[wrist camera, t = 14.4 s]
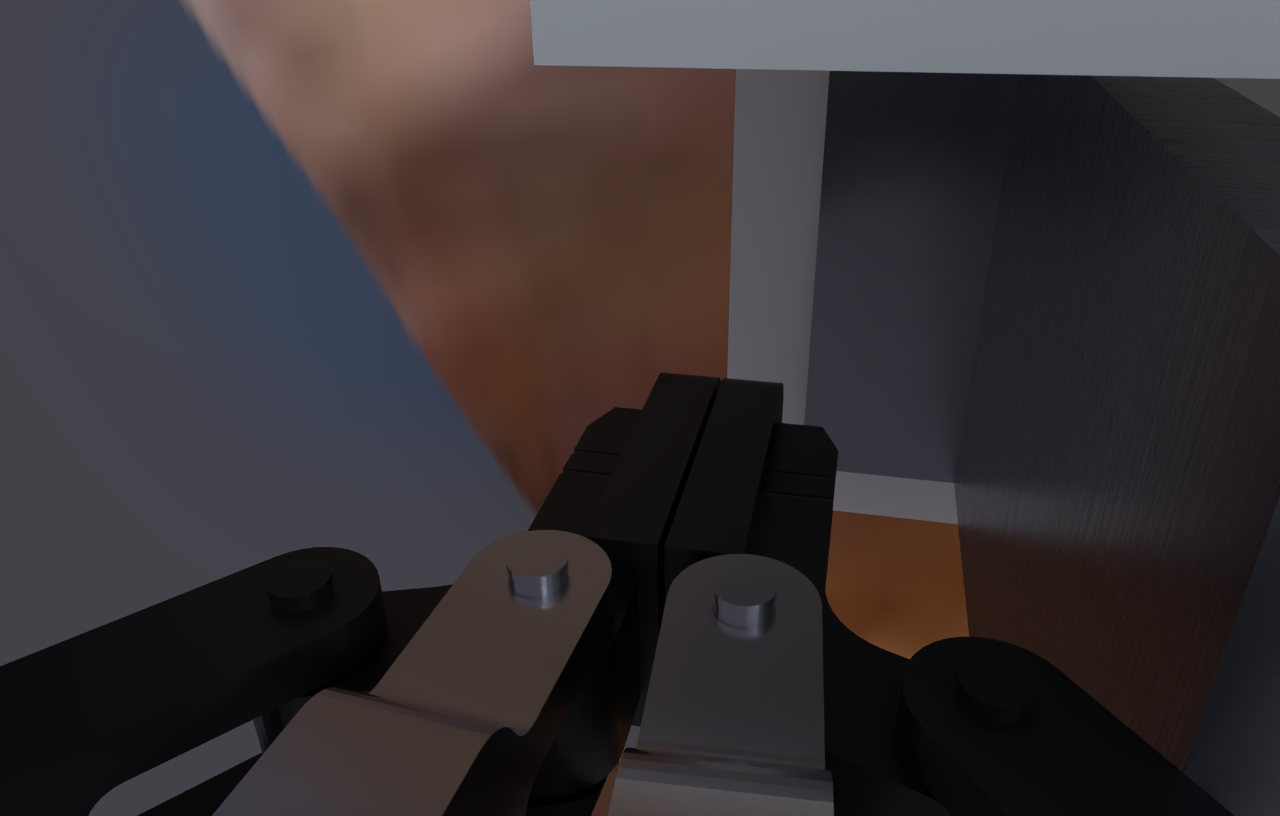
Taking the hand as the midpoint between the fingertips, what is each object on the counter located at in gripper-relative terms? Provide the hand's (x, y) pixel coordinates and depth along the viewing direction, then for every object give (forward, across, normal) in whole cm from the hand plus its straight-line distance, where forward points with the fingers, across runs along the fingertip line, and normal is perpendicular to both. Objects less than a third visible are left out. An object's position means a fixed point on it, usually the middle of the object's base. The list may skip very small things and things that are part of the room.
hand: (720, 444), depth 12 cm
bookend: (+8, -3, 0) cm, 8 cm away
